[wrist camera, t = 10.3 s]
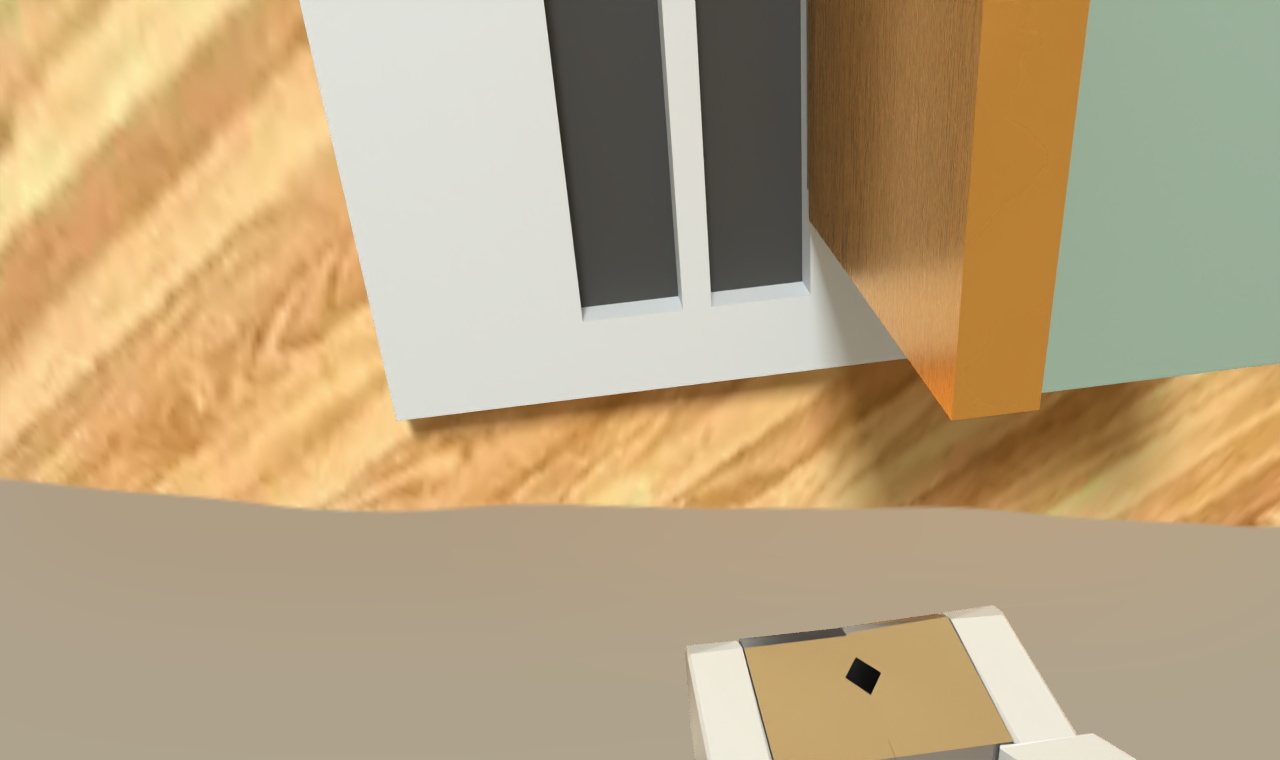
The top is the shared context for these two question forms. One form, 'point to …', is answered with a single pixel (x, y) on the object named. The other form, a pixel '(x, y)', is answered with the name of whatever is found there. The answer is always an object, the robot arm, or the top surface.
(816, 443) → the top surface
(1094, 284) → the tunnel
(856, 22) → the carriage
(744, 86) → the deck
